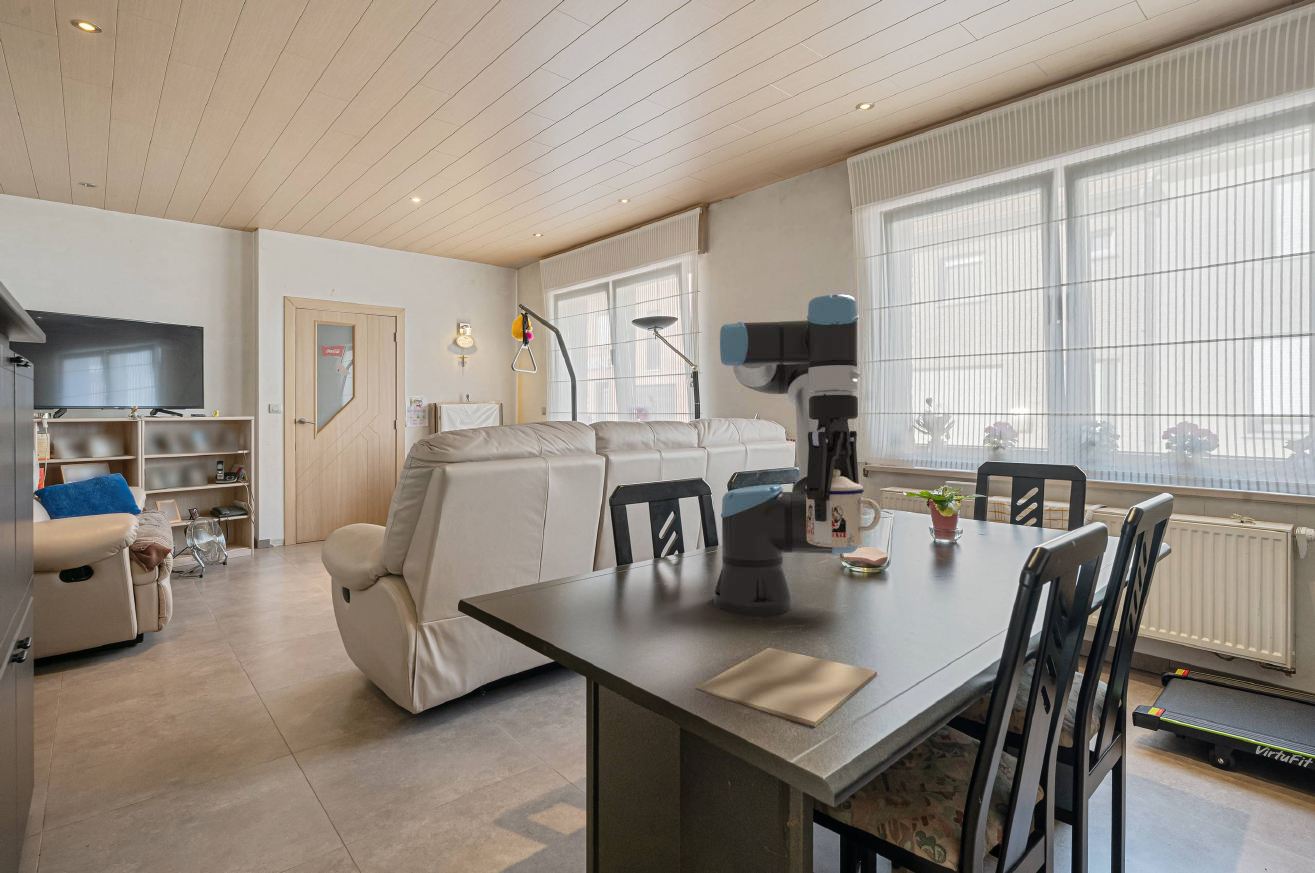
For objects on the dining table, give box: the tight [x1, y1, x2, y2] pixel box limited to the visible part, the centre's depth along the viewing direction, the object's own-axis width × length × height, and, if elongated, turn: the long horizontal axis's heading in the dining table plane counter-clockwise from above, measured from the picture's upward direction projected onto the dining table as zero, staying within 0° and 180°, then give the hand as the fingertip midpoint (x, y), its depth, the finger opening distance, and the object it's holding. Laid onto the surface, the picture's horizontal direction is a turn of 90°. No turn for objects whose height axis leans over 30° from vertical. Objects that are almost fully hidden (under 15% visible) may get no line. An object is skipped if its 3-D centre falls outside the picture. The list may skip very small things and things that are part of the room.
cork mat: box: [695, 647, 878, 728], centre depth 89 cm, size 17×20×1 cm
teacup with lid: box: [805, 470, 882, 547], centre depth 103 cm, size 12×9×12 cm
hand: (834, 538), depth 104 cm, fingers closed on teacup with lid, 8 cm apart
